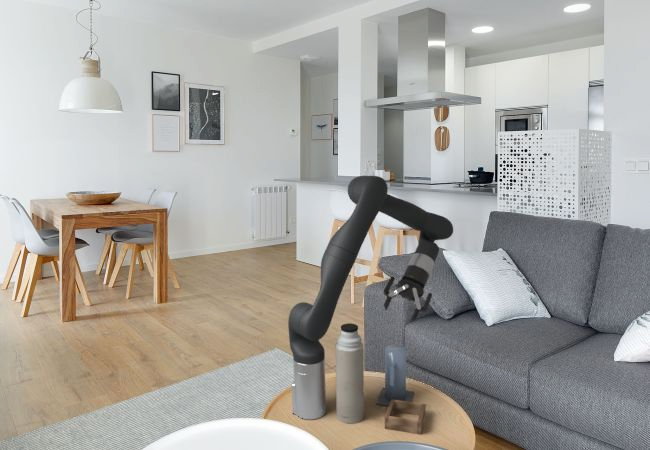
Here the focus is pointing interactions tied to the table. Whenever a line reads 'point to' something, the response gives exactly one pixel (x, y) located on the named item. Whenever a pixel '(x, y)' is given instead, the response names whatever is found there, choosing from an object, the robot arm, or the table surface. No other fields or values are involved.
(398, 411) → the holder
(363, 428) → the table surface
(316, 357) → the robot arm
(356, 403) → the thermos bottle
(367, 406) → the table surface
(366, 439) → the table surface
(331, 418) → the table surface
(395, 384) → the jug
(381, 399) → the mat
